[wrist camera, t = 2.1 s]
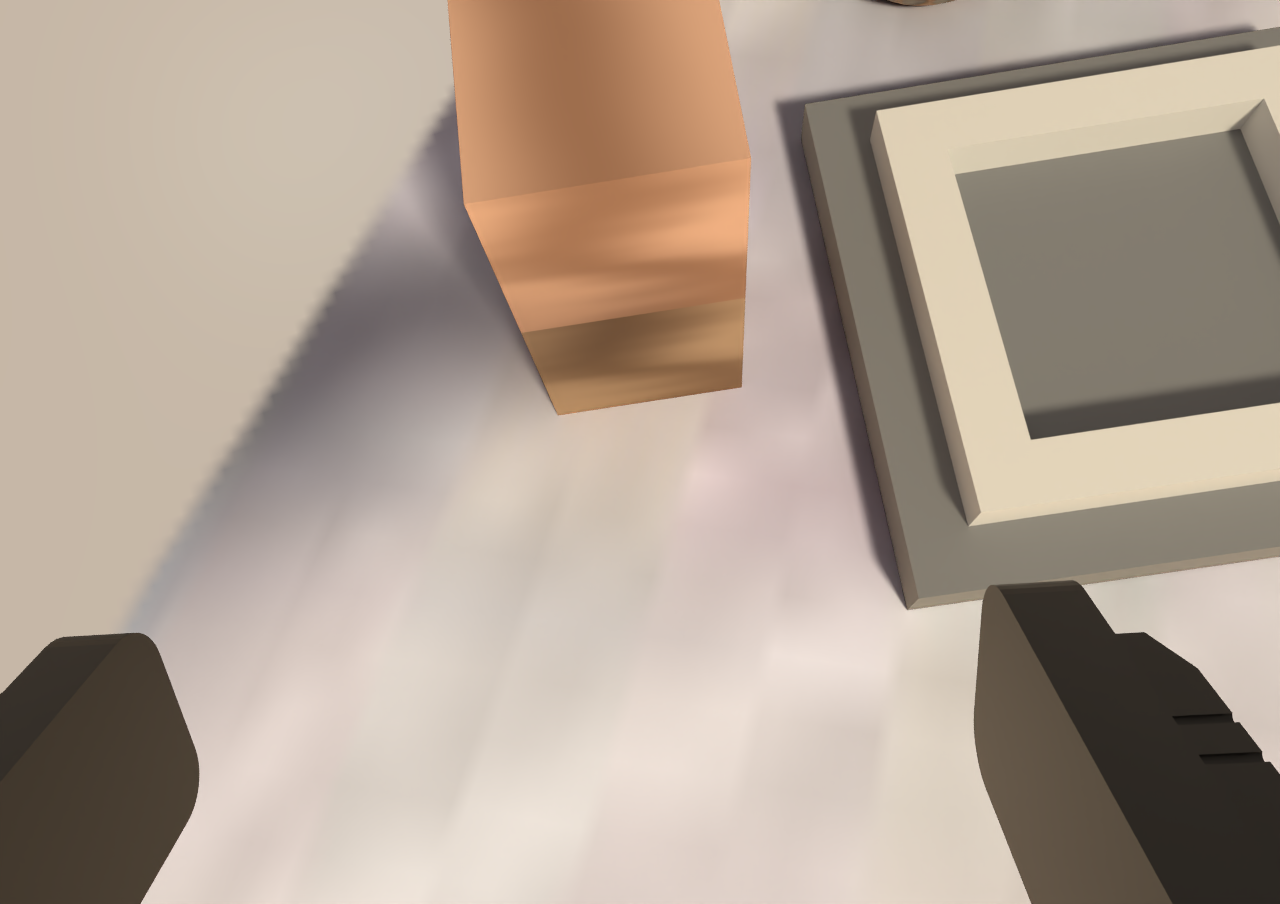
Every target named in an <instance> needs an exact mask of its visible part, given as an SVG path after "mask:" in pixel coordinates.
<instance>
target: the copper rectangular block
mask: <svg viewBox="0 0 1280 904" xmlns="http://www.w3.org/2000/svg"><path fill="white" fill-rule="evenodd" d="M448 11H449V23H450V36H451V49H452V60H453V74H454V87H455V99H456V112H457V124H458V137H459V149H460V162H461V174H462V187H463V199H464V206H465V208H466V210H467V212H468V215H469V217H470V219H471V221H472V224H473V226H474V228H475V230H476V232H477V235H478V237H479V239H480V241H481V244H482V246H483V248H484V250H485V253H486V255H487V257H488V259H489V262H490V264H491V266H492V268H493V271H494V273H495V275H496V277H497V280H498V282H499V284H500V286H501V289H502V291H503V293H504V295H505V298H506V300H507V302H508V304H509V307H510V309H511V311H512V313H513V315H514V318H515V320H516V322H517V324H518V327H519V329H520V331H521V333H522V336H523V338H524V340H525V342H526V345H527V347H528V349H529V351H530V354H531V356H532V358H533V360H534V363H535V365H536V367H537V369H538V372H539V374H540V376H541V378H542V381H543V383H544V385H545V387H546V389H547V392H548V394H549V396H550V398H551V401H552V403H553V405H554V407H555V410H556V412H557V414H558V415H563V414H570V413H576V412H583V411H589V410H596V409H602V408H609V407H616V406H622V405H629V404H635V403H642V402H648V401H655V400H661V399H668V398H674V397H681V396H687V395H694V394H701V393H707V392H714V391H720V390H727V389H733V388H740V387H742V365H743V340H744V316H745V291H746V267H747V243H748V218H749V194H750V169H751V156H750V151H749V146H748V141H747V136H746V131H745V126H744V121H743V116H742V111H741V106H740V101H739V96H738V91H737V86H736V82H735V77H734V72H733V67H732V62H731V57H730V52H729V47H728V42H727V37H726V32H725V27H724V22H723V17H722V12H721V7H720V2H719V0H448Z"/></svg>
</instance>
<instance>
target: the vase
mask: <svg viewBox="0 0 1280 904" xmlns="http://www.w3.org/2000/svg"><path fill="white" fill-rule="evenodd" d="M889 1H891V2H895V3H899V4H904V5H913V6H927V5H936V4H941V3H946V2H951V1H955V0H889Z"/></svg>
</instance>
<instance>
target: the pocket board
mask: <svg viewBox="0 0 1280 904" xmlns="http://www.w3.org/2000/svg"><path fill="white" fill-rule="evenodd" d="M801 140H802V145H803V149H804V154H805V158H806V163H807V167H808V171H809V176H810V180H811V185H812V189H813V194H814V198H815V203H816V207H817V211H818V216H819V220H820V225H821V229H822V234H823V238H824V243H825V247H826V251H827V256H828V260H829V265H830V269H831V274H832V278H833V282H834V287H835V291H836V296H837V300H838V305H839V309H840V314H841V318H842V322H843V327H844V331H845V336H846V340H847V345H848V349H849V353H850V358H851V362H852V367H853V371H854V376H855V380H856V385H857V389H858V393H859V398H860V402H861V407H862V411H863V416H864V420H865V425H866V429H867V433H868V438H869V442H870V447H871V451H872V456H873V460H874V464H875V469H876V473H877V478H878V482H879V487H880V491H881V496H882V500H883V504H884V509H885V513H886V518H887V522H888V527H889V531H890V535H891V540H892V544H893V549H894V553H895V558H896V562H897V567H898V571H899V575H900V580H901V584H902V589H903V593H904V598H905V602H906V607H907V610H911V609H918V608H925V607H932V606H939V605H946V604H953V603H960V602H967V601H974V600H981V599H983V598H984V594H985V591H986V589H987V588H988V587H989V586H990V585H999V584H1016V583H1033V582H1050V581H1067V580H1074V581H1076V582H1078V583H1079V584H1080V585H1085V584H1092V583H1099V582H1106V581H1113V580H1120V579H1127V578H1134V577H1141V576H1148V575H1155V574H1161V573H1168V572H1175V571H1182V570H1189V569H1196V568H1203V567H1210V566H1217V565H1224V564H1231V563H1238V562H1245V561H1252V560H1259V559H1266V558H1273V557H1280V27H1276V28H1270V29H1264V30H1258V31H1251V32H1245V33H1239V34H1233V35H1227V36H1221V37H1215V38H1208V39H1202V40H1196V41H1190V42H1184V43H1178V44H1172V45H1165V46H1159V47H1153V48H1147V49H1141V50H1135V51H1128V52H1122V53H1116V54H1110V55H1104V56H1098V57H1092V58H1085V59H1079V60H1073V61H1067V62H1061V63H1055V64H1049V65H1042V66H1036V67H1030V68H1024V69H1018V70H1012V71H1005V72H999V73H993V74H987V75H981V76H975V77H969V78H962V79H956V80H950V81H944V82H938V83H932V84H926V85H919V86H913V87H907V88H901V89H895V90H889V91H882V92H876V93H870V94H864V95H858V96H852V97H846V98H839V99H833V100H827V101H821V102H815V103H809V104H805V109H804V117H803V126H802V134H801Z"/></svg>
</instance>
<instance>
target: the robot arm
mask: <svg viewBox="0 0 1280 904" xmlns="http://www.w3.org/2000/svg"><path fill="white" fill-rule="evenodd" d="M974 736H975V745H976V752H977V757H978V763H979V767H980V771H981V775H982V778H983V782H984V784H985V787H986V790H987V792H988V795H989V797H990V800H991V803H992V805H993V808H994V810H995V813H996V815H997V818H998V820H999V823H1000V825H1001V828H1002V830H1003V833H1004V835H1005V838H1006V841H1007V843H1008V846H1009V848H1010V851H1011V853H1012V856H1013V858H1014V861H1015V863H1016V866H1017V868H1018V871H1019V873H1020V876H1021V878H1022V881H1023V884H1024V886H1025V889H1026V891H1027V894H1028V896H1029V899H1030V901H1031V904H1280V774H1279V773H1278V771H1277V770H1276V769H1275V767H1274V766H1273V765H1272V764H1271V762H1264V760H1263V757H1262V751H1261V749H1260V748H1259V747H1258V746H1257V744H1256V743H1255V742H1254V740H1253V739H1252V738H1251V737H1250V735H1249V734H1248V733H1247V731H1246V730H1245V729H1244V728H1243V726H1242V725H1241V724H1240V722H1236V723H1234V721H1233V718H1232V712H1231V711H1230V709H1229V708H1228V707H1227V706H1226V704H1225V703H1224V702H1223V700H1222V699H1221V698H1220V697H1219V695H1218V694H1217V693H1216V691H1215V690H1214V689H1213V688H1212V686H1211V685H1210V684H1209V682H1208V681H1207V680H1206V679H1205V677H1204V676H1203V675H1202V673H1201V672H1200V671H1199V670H1198V668H1196V667H1195V666H1193V665H1192V664H1190V663H1189V662H1187V661H1186V660H1185V659H1183V658H1182V657H1180V656H1179V655H1177V654H1176V653H1174V652H1173V651H1171V650H1170V649H1168V648H1167V647H1165V646H1164V645H1162V644H1161V643H1159V642H1158V641H1156V640H1155V639H1154V638H1152V637H1151V636H1149V635H1148V634H1146V633H1145V632H1141V633H1123V634H1115V633H1114V632H1113V630H1112V629H1111V627H1110V626H1109V624H1108V623H1107V621H1106V620H1105V619H1104V617H1103V616H1102V614H1101V613H1100V611H1099V610H1098V608H1097V607H1096V605H1095V604H1094V603H1093V601H1092V600H1091V598H1090V597H1089V595H1088V594H1087V592H1086V591H1085V590H1084V588H1083V587H1082V586H1081V585H1080V584H1079V583H1078V582H1076V581H1074V580H1067V581H1050V582H1033V583H1016V584H999V585H990V586H989V587H988V588H987V589H986V591H985V594H984V598H983V604H982V614H981V627H980V641H979V654H978V667H977V680H976V693H975V706H974ZM198 787H199V762H198V757H197V753H196V750H195V747H194V744H193V741H192V739H191V736H190V733H189V731H188V728H187V725H186V723H185V720H184V717H183V715H182V712H181V709H180V707H179V704H178V701H177V698H176V696H175V693H174V690H173V688H172V685H171V682H170V680H169V677H168V674H167V672H166V669H165V666H164V664H163V661H162V658H161V656H160V653H159V651H158V649H157V647H156V645H155V644H154V642H153V641H152V640H151V639H150V638H149V637H148V636H146V635H144V634H141V633H125V634H108V635H92V636H74V637H62V638H59V639H56V640H54V641H53V642H51V643H50V644H49V645H48V646H46V647H45V648H44V649H43V650H42V651H41V653H40V654H39V655H38V656H37V657H36V658H35V659H34V660H33V661H32V662H31V663H30V664H29V665H28V666H27V667H26V668H25V669H24V670H23V672H22V673H21V674H20V675H19V676H18V677H17V678H16V679H15V680H14V681H13V682H12V683H11V684H10V685H9V686H8V687H7V688H6V690H5V691H4V692H3V693H1V694H0V904H141V902H142V900H143V898H144V897H145V895H146V893H147V891H148V890H149V888H150V886H151V884H152V883H153V881H154V879H155V878H156V876H157V874H158V872H159V871H160V869H161V867H162V865H163V864H164V862H165V860H166V858H167V857H168V855H169V853H170V852H171V850H172V848H173V846H174V845H175V843H176V841H177V839H178V838H179V836H180V834H181V832H182V831H183V829H184V827H185V826H186V824H187V822H188V820H189V818H190V816H191V814H192V811H193V809H194V806H195V802H196V798H197V793H198Z"/></svg>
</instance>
